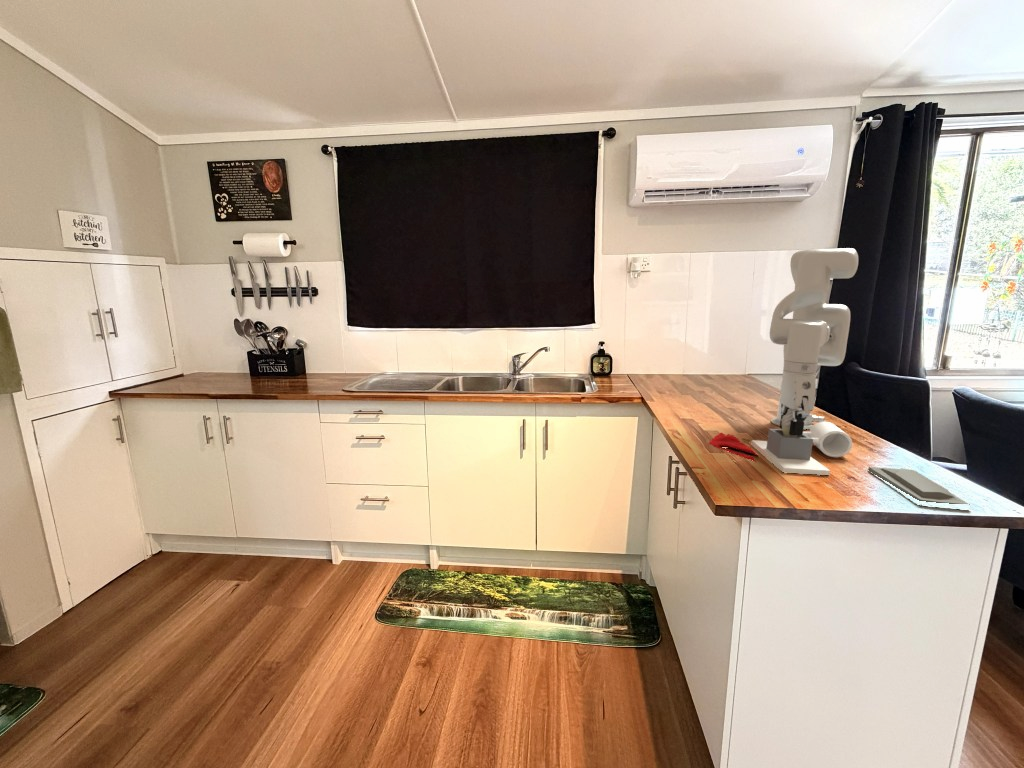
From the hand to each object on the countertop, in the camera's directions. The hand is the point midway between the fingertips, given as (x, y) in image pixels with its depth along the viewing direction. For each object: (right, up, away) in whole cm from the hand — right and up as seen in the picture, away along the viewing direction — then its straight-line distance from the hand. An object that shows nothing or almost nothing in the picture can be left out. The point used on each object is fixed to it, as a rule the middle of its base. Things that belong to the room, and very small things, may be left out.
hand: (790, 431), depth 123 cm
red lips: (-10, -7, +13) cm, 17 cm away
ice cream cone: (0, -6, +1) cm, 7 cm away
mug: (+14, -7, +9) cm, 18 cm away
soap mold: (+19, -13, -17) cm, 29 cm away
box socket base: (0, -8, +2) cm, 8 cm away
